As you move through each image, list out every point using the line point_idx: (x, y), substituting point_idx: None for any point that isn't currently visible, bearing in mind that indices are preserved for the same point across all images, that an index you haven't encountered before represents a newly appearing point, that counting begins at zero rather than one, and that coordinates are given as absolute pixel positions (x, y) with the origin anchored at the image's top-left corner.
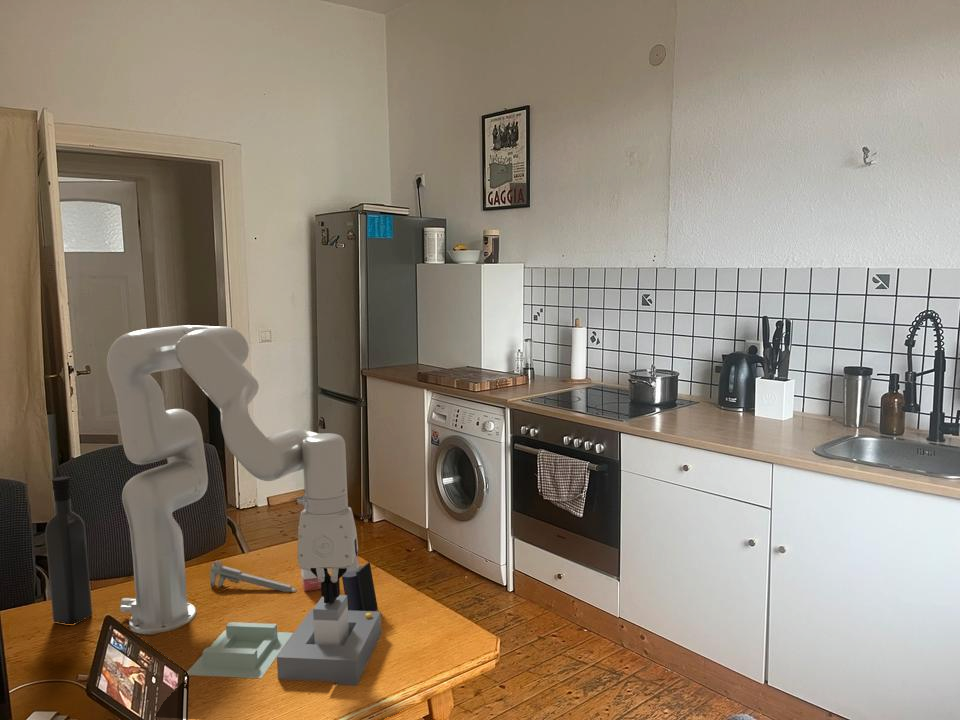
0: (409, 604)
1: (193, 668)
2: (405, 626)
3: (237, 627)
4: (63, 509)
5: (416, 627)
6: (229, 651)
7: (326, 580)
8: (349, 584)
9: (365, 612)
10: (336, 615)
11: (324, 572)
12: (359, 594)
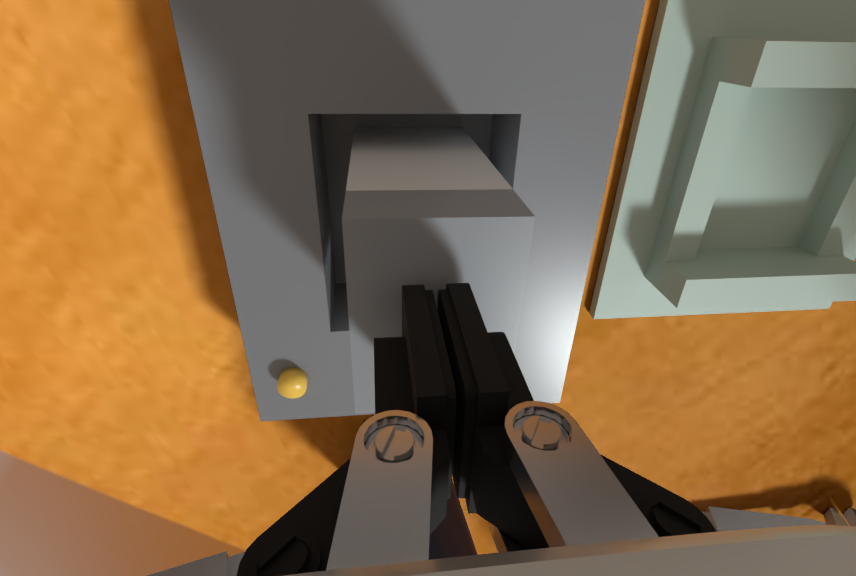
0: (259, 512)
1: None
2: (212, 408)
3: (828, 272)
4: None
5: (168, 407)
6: None
7: (485, 431)
8: (440, 542)
9: (323, 407)
10: (352, 202)
11: (532, 520)
12: None
